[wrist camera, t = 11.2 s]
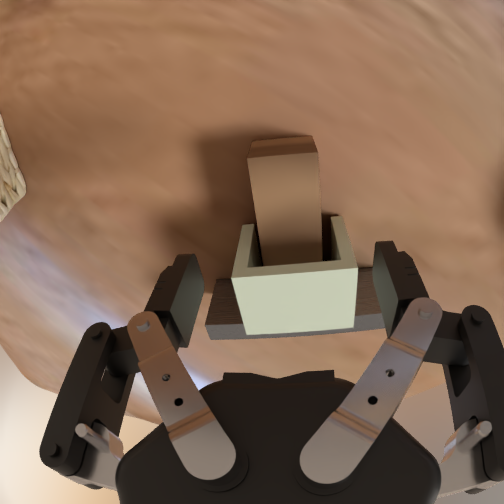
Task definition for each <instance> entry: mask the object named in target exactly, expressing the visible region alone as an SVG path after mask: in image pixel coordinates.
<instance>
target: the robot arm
mask: <svg viewBox="0 0 504 504" xmlns="http://www.w3.org/2000/svg"><path fill="white" fill-rule="evenodd" d="M372 274H373V283H374V287H375V290H376V294H377V297H378V301H379V305H380V309H381V313H382V316H383V320H384V324H385V328H386V333H387V337H388V338H387V339H386V340H385V341H384V343H383V344H382V346H381V348H380V349H379V351H378V352H377V354H376V355H375V357H374V358H373V360H372V361H371V363H370V364H369V366H368V367H367V369H366V370H365V372H364V373H363V375H362V376H361V377H360V379H359V380H358V382H357V383H356V385H355V384H354V383H352V382H349V381H347V380H344V379H340V378H335V377H334V370H324V371H307V372H303V373H299V374H295V375H291V376H287V377H283V378H278V379H277V378H271V377H267V376H262V375H257V374H253V373H224V375H223V380H221V381H217V382H214V383H212V384H209V385H207V386H205V387H203V388H202V389H200V390H199V391H198V389H197V387H196V386H195V384H194V382H193V381H192V379H191V377H190V375H189V374H188V372H187V370H186V368H185V367H184V365H183V363H182V361H181V360H180V358H179V356H178V354H177V352H178V349H179V347H184V348H188V345H189V341H190V338H191V334H192V331H193V327H194V324H195V320H196V317H197V313H198V310H199V307H200V303H201V300H202V296H203V293H204V280H203V277H202V274H201V271H200V267H199V264H198V261H197V258H196V256H195V254H181V255H177V257H176V259H175V261H174V264H173V266H168V267H167V268H166V269H165V270H164V271H163V272H162V273H161V274H160V277H159V279H158V281H157V283H156V285H155V287H154V290H153V292H152V294H151V296H150V298H149V301H148V303H147V305H146V307H145V310H144V312H141V313H138V314H136V315H135V316H133V317H132V318H131V320H130V321H129V323H128V325H127V326H125V327H121V328H116V329H111V328H110V326H109V325H108V324H107V323H104V322H99V323H95V324H93V325H92V326H90V327H89V328H88V329H87V330H86V332H85V333H84V335H83V337H82V340H81V342H80V344H79V346H78V349H77V351H76V353H75V355H74V358H73V360H72V362H71V365H70V367H69V369H68V372H67V374H66V377H65V379H64V382H63V384H62V387H61V389H60V392H59V394H58V397H57V399H56V402H55V405H54V408H53V410H52V413H51V416H50V419H49V421H48V424H47V427H46V430H45V433H44V436H43V439H42V442H41V446H40V451H39V452H40V458H41V460H42V462H43V463H44V464H45V465H46V466H48V467H50V468H51V469H53V470H55V471H57V472H58V473H59V474H61V475H63V476H65V477H66V478H69V479H70V480H73V481H74V482H76V483H78V484H82V485H85V486H87V487H89V488H91V489H101V488H103V487H104V488H108V489H111V490H115V491H117V492H118V495H119V500H120V504H434V503H435V500H436V499H437V498H439V497H443V496H447V495H451V494H455V493H459V492H463V491H465V492H466V493H469V494H476V493H479V492H481V491H483V490H485V489H487V488H490V487H492V486H494V485H496V484H498V483H500V482H502V481H503V480H504V348H503V345H502V343H501V340H500V337H499V335H498V332H497V330H496V327H495V325H494V322H493V320H492V318H491V316H490V314H489V313H488V311H487V310H485V309H484V308H482V307H480V306H477V305H470V306H467V307H466V308H465V309H464V310H463V311H462V314H459V313H452V312H446V311H443V310H442V308H441V307H440V305H439V304H438V303H437V302H436V301H434V300H432V299H430V298H429V296H428V293H427V291H426V288H425V286H424V284H423V281H422V279H421V277H420V275H419V272H418V270H417V268H416V266H415V264H414V261H413V259H412V258H411V257H410V256H409V255H408V254H407V253H406V252H405V251H402V252H398V251H397V249H396V247H395V244H394V242H393V241H379V242H376V243H375V251H374V261H373V271H372ZM423 361H425V362H431V363H438V364H442V366H443V370H444V374H445V379H446V384H447V389H448V394H449V398H450V404H451V410H452V416H453V422H454V429H455V432H454V434H452V435H451V436H450V438H449V439H448V440H447V442H446V444H445V451H444V457H443V460H442V462H441V463H440V464H438V462H437V460H436V459H435V457H434V456H433V455H432V454H431V453H430V452H429V451H428V450H427V449H425V448H424V447H423V446H422V445H421V444H420V443H419V442H418V441H417V440H416V439H415V438H414V437H412V436H411V435H410V434H409V433H408V432H407V431H406V430H405V429H404V428H403V427H402V426H401V425H400V424H399V423H398V422H397V421H396V420H394V419H393V418H392V417H393V416H394V414H395V412H396V411H397V409H398V407H399V405H400V404H401V402H402V400H403V398H404V397H405V395H406V393H407V391H408V389H409V388H410V386H411V384H412V382H413V380H414V378H415V376H416V374H417V372H418V371H419V369H420V367H421V365H422V363H423ZM104 370H105V372H104ZM138 372H141V373H142V376H143V378H144V380H145V383H146V385H147V387H148V390H149V392H150V394H151V396H152V399H153V401H154V403H155V405H156V407H157V410H158V412H159V414H160V416H161V418H162V420H163V422H162V423H161V424H160V425H159V426H158V427H157V428H155V429H154V430H153V431H152V432H151V433H150V434H148V435H147V436H146V437H145V438H144V439H143V440H141V441H140V442H139V443H138V444H137V445H135V446H134V447H133V448H132V449H130V450H129V451H128V452H127V453H126V454H125V455H124V453H123V444H122V442H121V440H120V439H119V438H118V437H119V433H120V428H121V425H122V421H123V416H124V413H125V409H126V406H127V402H128V398H129V395H130V391H131V388H132V384H133V381H134V377H135V374H136V373H138ZM103 373H104V375H103ZM102 376H103V378H102ZM101 379H102V380H101Z"/></svg>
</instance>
